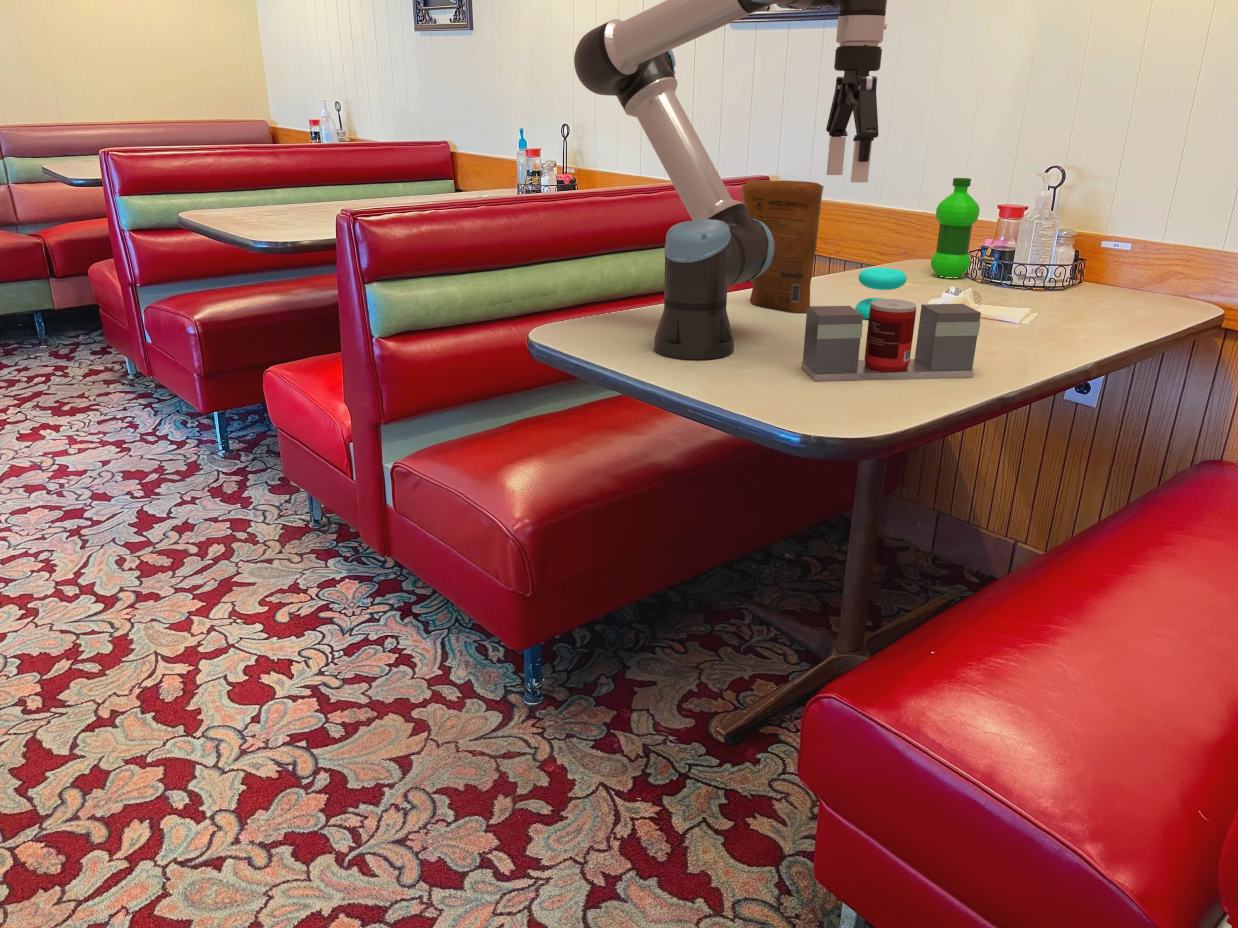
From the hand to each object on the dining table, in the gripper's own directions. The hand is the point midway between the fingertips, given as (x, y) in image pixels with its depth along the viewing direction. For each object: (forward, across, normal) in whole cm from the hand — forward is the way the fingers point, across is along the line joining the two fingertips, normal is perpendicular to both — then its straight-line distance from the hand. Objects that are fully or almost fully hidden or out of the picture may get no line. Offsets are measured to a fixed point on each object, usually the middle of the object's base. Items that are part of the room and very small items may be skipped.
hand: (846, 178), depth 162 cm
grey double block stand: (+31, -13, -6) cm, 35 cm away
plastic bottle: (+32, +72, -55) cm, 96 cm away
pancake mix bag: (+32, +39, 0) cm, 50 cm away
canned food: (+30, -13, -6) cm, 34 cm away
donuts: (+32, +29, -20) cm, 48 cm away
